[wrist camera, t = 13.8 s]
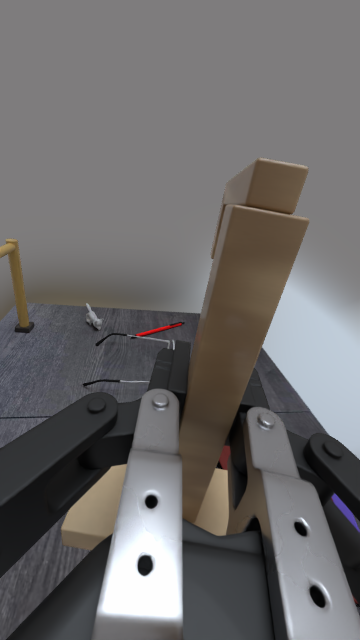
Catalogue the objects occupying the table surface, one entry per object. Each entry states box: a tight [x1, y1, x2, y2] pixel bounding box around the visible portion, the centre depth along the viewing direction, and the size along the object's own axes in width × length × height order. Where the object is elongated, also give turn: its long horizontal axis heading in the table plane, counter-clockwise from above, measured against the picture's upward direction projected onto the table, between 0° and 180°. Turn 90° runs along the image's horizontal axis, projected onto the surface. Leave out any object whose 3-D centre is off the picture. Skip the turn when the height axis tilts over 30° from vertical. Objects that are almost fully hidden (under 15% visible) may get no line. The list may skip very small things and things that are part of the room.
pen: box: [130, 322, 185, 338], centre depth 69 cm, size 1×19×1 cm, turn 131°
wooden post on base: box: [61, 158, 309, 550], centre depth 11 cm, size 10×8×16 cm
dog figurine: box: [86, 304, 105, 330], centre depth 64 cm, size 3×8×6 cm
